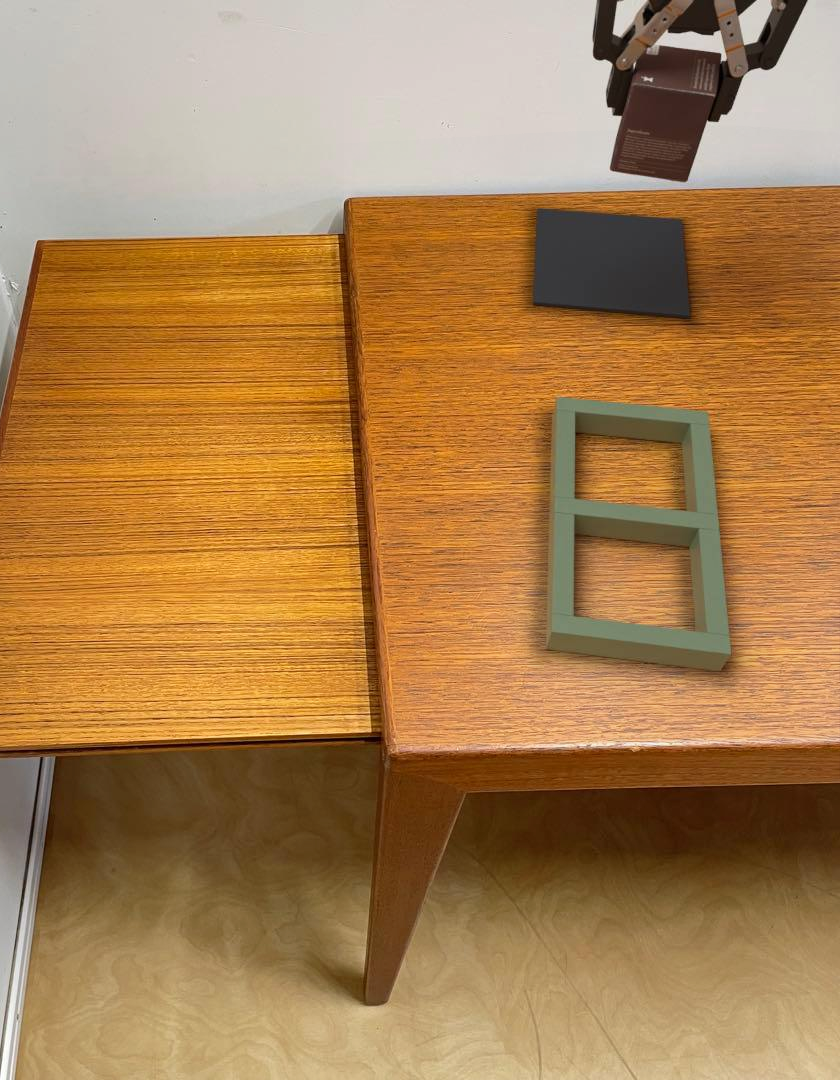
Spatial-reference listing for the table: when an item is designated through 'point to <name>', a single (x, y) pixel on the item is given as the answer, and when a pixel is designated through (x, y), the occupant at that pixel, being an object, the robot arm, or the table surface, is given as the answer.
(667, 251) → the mat
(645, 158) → the box
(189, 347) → the table surface
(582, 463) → the table surface
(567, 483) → the rack
